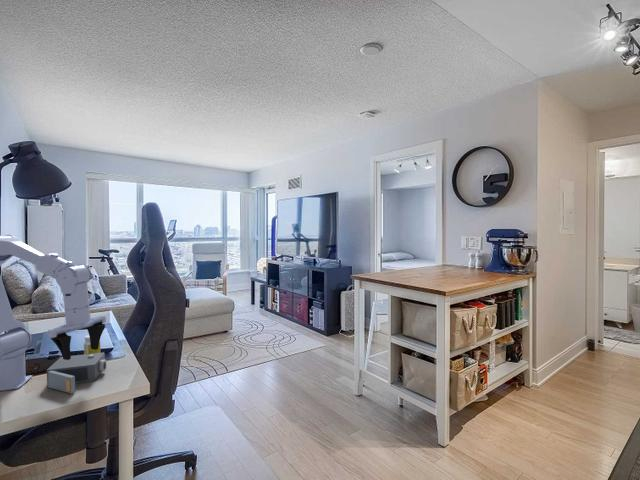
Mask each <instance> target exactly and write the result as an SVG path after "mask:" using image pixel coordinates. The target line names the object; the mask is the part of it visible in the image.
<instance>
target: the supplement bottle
mask: <svg viewBox="0 0 640 480" xmlns="http://www.w3.org/2000/svg"><path fill="white" fill-rule="evenodd" d="M94 353H102V352H101V340H100V341H99V346H98V349H97V350H93V349H91V345H90V336H89V334H87V335H85V336H84V342H83V355H85V354H94Z"/></svg>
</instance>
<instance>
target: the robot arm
mask: <svg viewBox="0 0 640 480" xmlns="http://www.w3.org/2000/svg"><path fill="white" fill-rule="evenodd" d="M13 257H16V258H18V259H21V260H23V261H25V262H28V263H31V264H32V265H35V269H36V270H37V271H38V272H40V273H41V274H43V275H46V276H48V277H50V278H52V279H55V282H56V283H57V285H58V286H59V287H60V292H61V293H62V294H63V306H64V317H65V324H62V325H59V326H57V327H54V328H51V329H47V334H48V335H47V336H48V338H50V340H51V341H52V342H53V343H54V344H55V345H56V347H57V348H58V350H59V352H60V354H61V355H62V356H61V357H63V359H64V360H70V359H71V356H72V355H71V340H72V336H71V335H68V334H69V333H72V332H75V331H79V330H82V329H85V328H86V329H87V333H88V335H89V336H90V345H91V349H93V350H97V349H98V346H99V341H100V342H101V337H102V334H103V332H104V330H105V328H106V324H105V323H106V322H107V319H106V318H107V317H106V316H105V315H99V316H94V317H91V312H90V311H91V310H90V309H91V308H90V301H89V300H90V299H89V298H90V297H89V290H88V288H89V287H88V283H89V282H90V280H91V278H92V271H91V270H90V268H89V267H88V266H87V265H85V264H75V263H74V261H71V260H70V261H68V260H66V259H64V258H63V257H60V254H58V253H56V252H55V253H46V254H44V253H43V252H41V251H38V250H37V249H35V248H33V247H32V246H30V245H28V244H26V243H25V242H23V240H22V239H21V238H20V237H16V236H14V235H13V234H4V235H0V267H1V266H2V265H3V264H5V263H6V262H8V261H9V260H10V259H11V258H13ZM10 304H11V303H10V300H9V297H8V295H7V291H6V289H5V285H4V283H3V279H2V275H1V274H0V392H1V391H9V390H17V389H20V388H21V387H23V386H24V385H25V384H26V383H27V382H28V381H29V380H31V378H32V377H33V375H31V374H30V375H26V351H28V347H29V346H30V345H31V343H32V340H33V338H32V334H31V332H30V331H29V330H28V329H27V327H26V324H25V322H23V321H21V320H18V319H15V316H14V313H13V311H12V307H11V305H10ZM4 332H5V333H4Z"/></svg>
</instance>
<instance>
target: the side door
mask: <svg viewBox="0 0 640 480" xmlns="http://www.w3.org/2000/svg"><path fill="white" fill-rule="evenodd" d="M48 388H50V389H54V390H58V391H61V392H64V393H69V394H74V393H76V383H75V376H72V375H68V374H64V373H60V372H56V371H49V372H48Z"/></svg>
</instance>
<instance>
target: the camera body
mask: <svg viewBox="0 0 640 480" xmlns="http://www.w3.org/2000/svg"><path fill="white" fill-rule="evenodd" d="M105 357H106V354H105V352H104V351H103V352H101V353H94V354H85V355H84V354H77V355H71V359H70V360H64V359H63V357H62V356H60V357H59V358H58V359H57V360H56V361H55V362H54V363H53V364H52V365H50V366H49V367H48V368H47V369H46V387H48V372H49V371H56V372H60V373H64V374H68V375H72V376H75V384H80V383H87V382H95V381H97V379H98V378H99V376H100V375H101V374H102V372H105V371H106V369H107V360H106V359H105ZM48 388H49V387H48Z"/></svg>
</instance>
